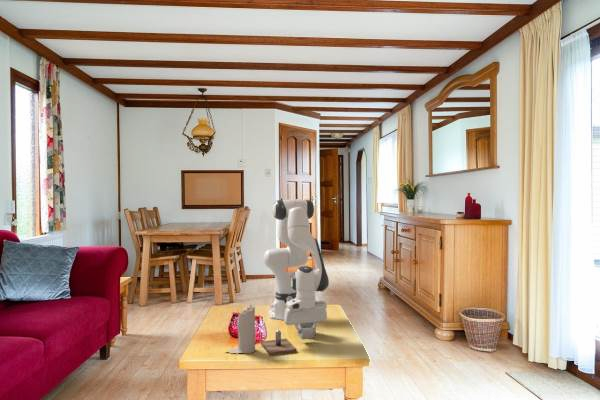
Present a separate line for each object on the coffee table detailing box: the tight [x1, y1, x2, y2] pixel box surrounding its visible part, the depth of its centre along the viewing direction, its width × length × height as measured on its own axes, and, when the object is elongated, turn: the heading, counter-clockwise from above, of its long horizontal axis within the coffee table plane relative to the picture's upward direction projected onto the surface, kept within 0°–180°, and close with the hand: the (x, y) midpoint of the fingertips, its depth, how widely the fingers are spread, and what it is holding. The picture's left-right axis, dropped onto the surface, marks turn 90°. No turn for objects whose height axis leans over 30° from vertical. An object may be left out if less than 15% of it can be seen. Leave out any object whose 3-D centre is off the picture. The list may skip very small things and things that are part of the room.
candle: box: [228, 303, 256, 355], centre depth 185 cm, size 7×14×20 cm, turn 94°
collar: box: [297, 324, 314, 340], centre depth 195 cm, size 5×5×5 cm
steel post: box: [275, 329, 282, 346], centre depth 188 cm, size 2×2×6 cm
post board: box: [260, 338, 298, 357], centre depth 188 cm, size 15×12×2 cm
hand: (305, 332), depth 195 cm, fingers closed on collar, 5 cm apart
